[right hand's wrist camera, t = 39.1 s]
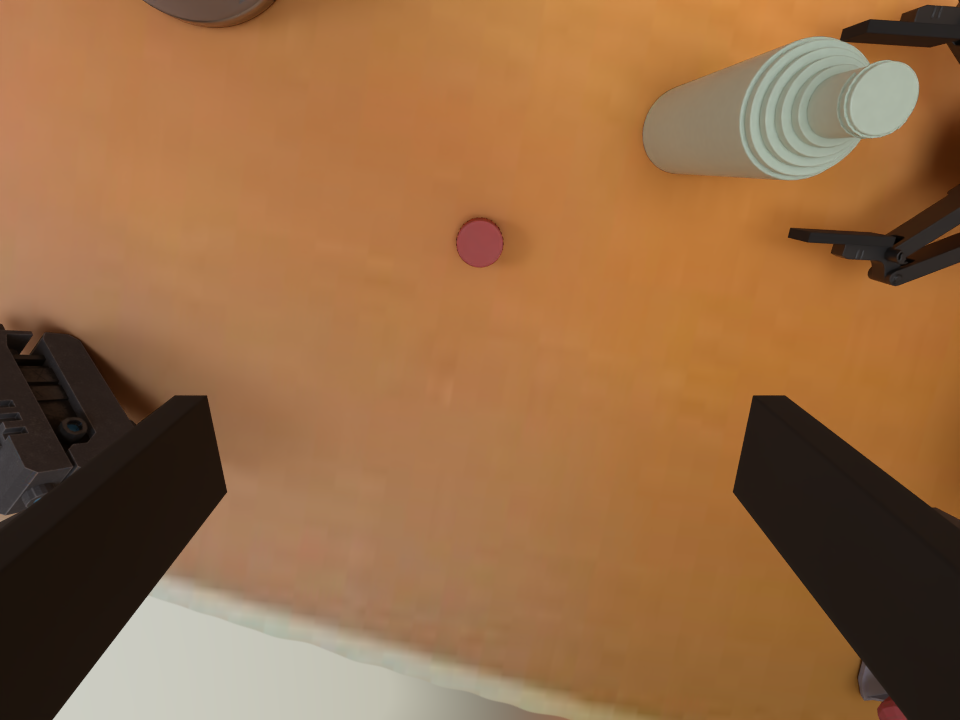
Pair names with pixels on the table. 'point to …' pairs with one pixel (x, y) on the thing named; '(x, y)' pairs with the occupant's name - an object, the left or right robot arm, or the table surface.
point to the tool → (50, 415)
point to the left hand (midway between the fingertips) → (824, 139)
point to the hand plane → (878, 695)
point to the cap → (479, 242)
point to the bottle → (779, 112)
